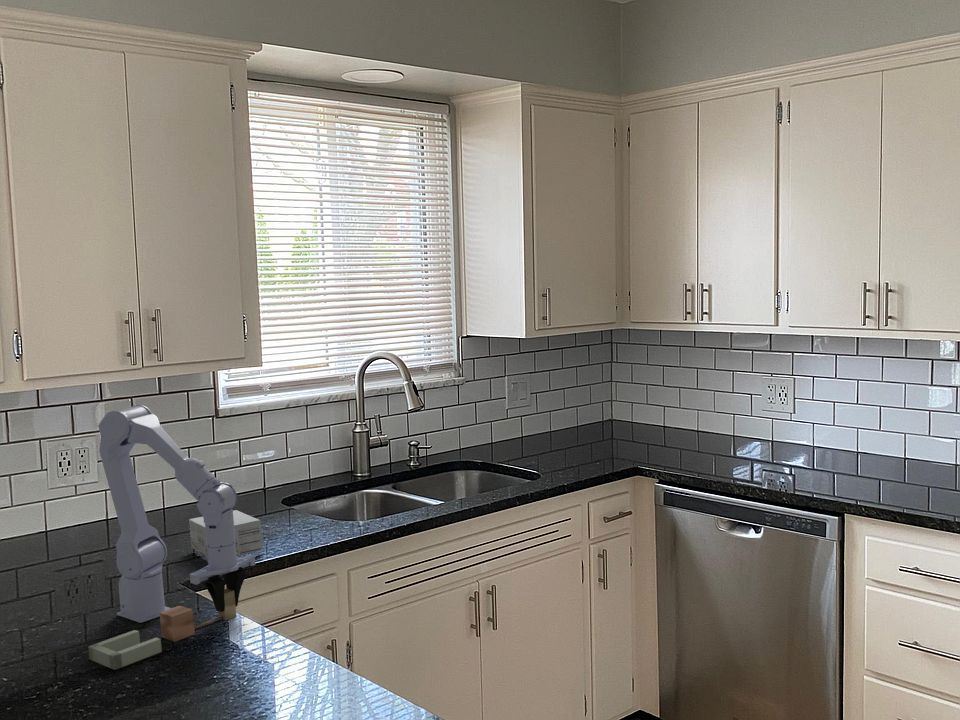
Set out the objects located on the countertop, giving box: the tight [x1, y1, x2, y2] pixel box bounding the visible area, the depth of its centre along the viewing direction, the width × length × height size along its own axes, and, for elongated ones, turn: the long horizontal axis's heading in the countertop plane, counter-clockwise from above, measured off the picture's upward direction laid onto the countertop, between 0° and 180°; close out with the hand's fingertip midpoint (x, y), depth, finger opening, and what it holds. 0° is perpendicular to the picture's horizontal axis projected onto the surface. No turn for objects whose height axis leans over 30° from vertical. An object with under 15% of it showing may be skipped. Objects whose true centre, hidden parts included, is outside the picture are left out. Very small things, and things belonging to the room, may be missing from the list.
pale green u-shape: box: [88, 629, 163, 671], centre depth 175 cm, size 9×10×2 cm
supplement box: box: [188, 509, 264, 557], centre depth 240 cm, size 17×13×9 cm
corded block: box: [159, 588, 237, 643], centre depth 188 cm, size 4×15×6 cm, turn 141°
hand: (226, 608), depth 193 cm, fingers closed on corded block, 3 cm apart
